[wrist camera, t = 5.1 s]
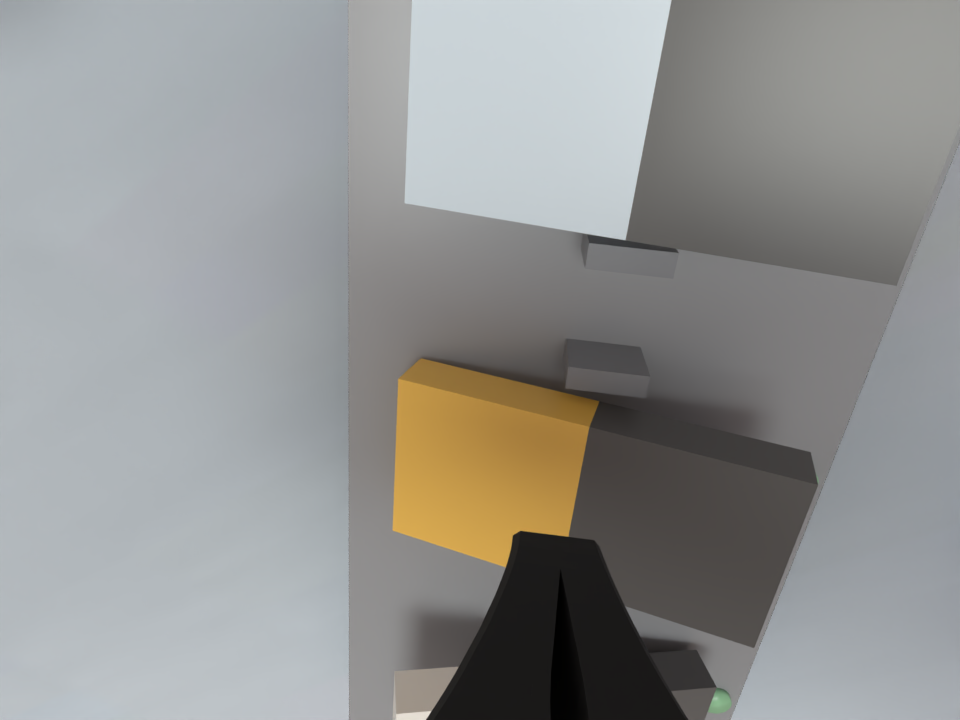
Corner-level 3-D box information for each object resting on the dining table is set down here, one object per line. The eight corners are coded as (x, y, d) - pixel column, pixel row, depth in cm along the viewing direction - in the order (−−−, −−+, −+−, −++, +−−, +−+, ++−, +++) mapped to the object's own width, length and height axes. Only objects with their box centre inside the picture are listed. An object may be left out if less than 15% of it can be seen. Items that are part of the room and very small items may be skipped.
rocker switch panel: (1104, -435, 12) (1371, -672, 8) (687, 733, 27) (711, 846, 23) (382, -478, 13) (310, -718, 9) (365, 686, 28) (335, 788, 24)
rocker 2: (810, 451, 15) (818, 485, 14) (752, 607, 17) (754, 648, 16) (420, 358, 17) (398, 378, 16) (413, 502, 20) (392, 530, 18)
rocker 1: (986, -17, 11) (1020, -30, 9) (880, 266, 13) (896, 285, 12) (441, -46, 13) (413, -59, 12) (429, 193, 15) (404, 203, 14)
